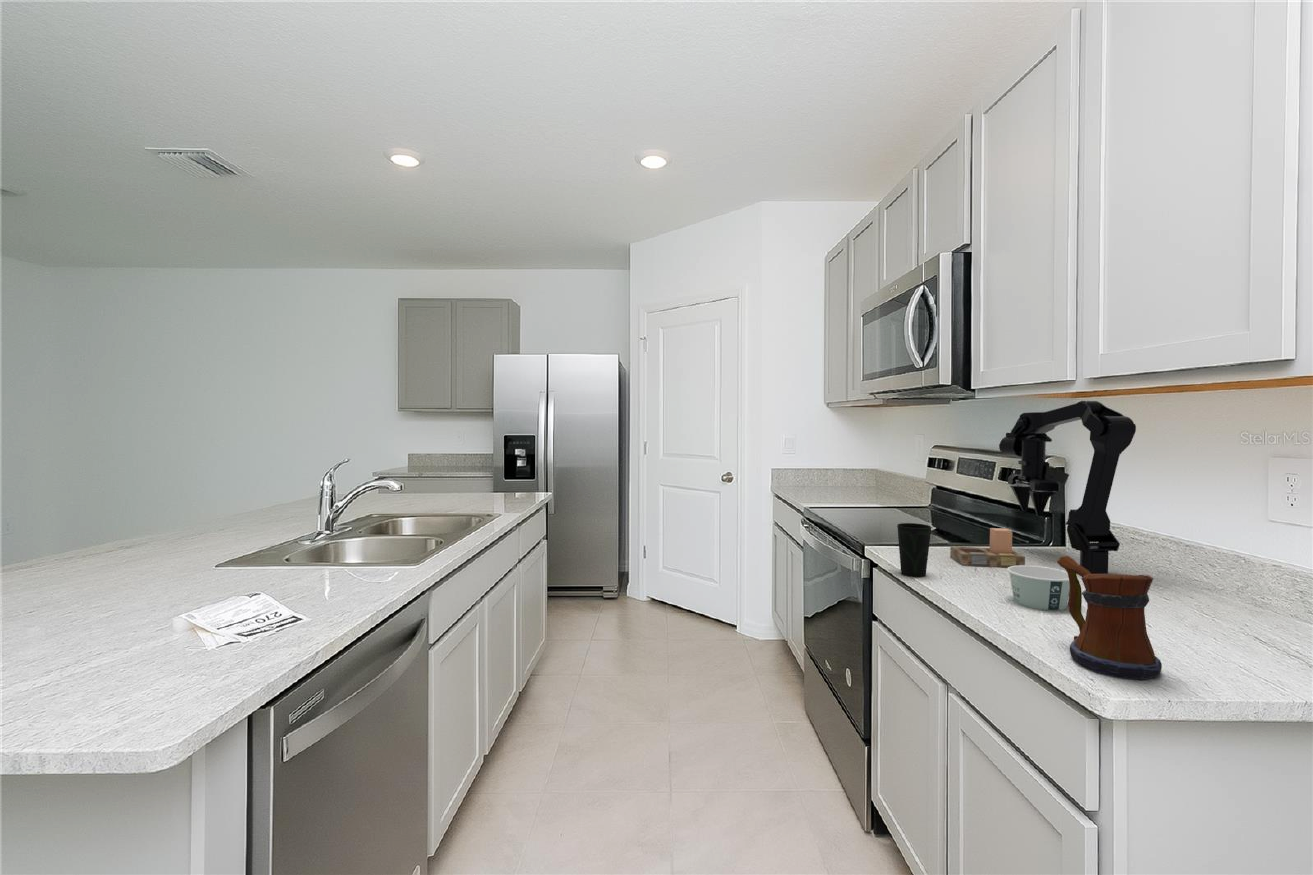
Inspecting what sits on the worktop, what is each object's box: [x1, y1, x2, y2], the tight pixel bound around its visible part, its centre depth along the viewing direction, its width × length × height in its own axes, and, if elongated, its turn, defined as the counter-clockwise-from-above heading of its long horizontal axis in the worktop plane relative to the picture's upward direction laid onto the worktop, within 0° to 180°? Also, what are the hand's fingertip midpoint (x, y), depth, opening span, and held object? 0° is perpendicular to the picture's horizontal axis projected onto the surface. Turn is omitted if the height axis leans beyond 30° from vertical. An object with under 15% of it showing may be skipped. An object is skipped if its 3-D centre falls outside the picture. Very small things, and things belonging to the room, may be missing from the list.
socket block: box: [949, 545, 1026, 569], centre depth 162 cm, size 10×15×3 cm
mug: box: [1056, 555, 1163, 681], centre depth 97 cm, size 18×12×15 cm, turn 0°
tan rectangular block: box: [989, 527, 1013, 554], centre depth 161 cm, size 4×4×9 cm
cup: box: [896, 522, 932, 578], centre depth 149 cm, size 8×8×12 cm
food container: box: [1006, 564, 1070, 611], centre depth 126 cm, size 12×12×6 cm
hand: (1031, 513), depth 170 cm, fingers open, 9 cm apart
